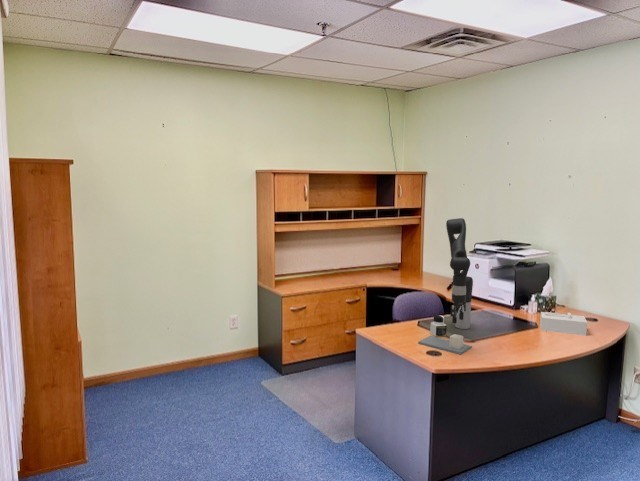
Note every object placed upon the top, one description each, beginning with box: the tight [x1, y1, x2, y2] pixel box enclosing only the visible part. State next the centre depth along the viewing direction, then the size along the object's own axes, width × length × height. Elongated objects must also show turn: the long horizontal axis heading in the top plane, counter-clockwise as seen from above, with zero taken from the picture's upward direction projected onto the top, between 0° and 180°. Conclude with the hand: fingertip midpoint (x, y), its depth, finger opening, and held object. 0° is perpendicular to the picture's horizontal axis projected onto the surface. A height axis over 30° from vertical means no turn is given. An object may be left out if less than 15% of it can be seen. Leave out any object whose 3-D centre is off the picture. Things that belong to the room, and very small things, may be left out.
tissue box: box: [539, 311, 588, 336], centre depth 301 cm, size 14×25×11 cm, turn 68°
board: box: [417, 335, 473, 355], centre depth 271 cm, size 14×26×6 cm, turn 48°
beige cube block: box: [449, 333, 465, 349], centre depth 266 cm, size 6×6×6 cm
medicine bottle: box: [429, 314, 448, 338], centre depth 289 cm, size 7×7×12 cm
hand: (457, 321), depth 265 cm, fingers open, 8 cm apart
